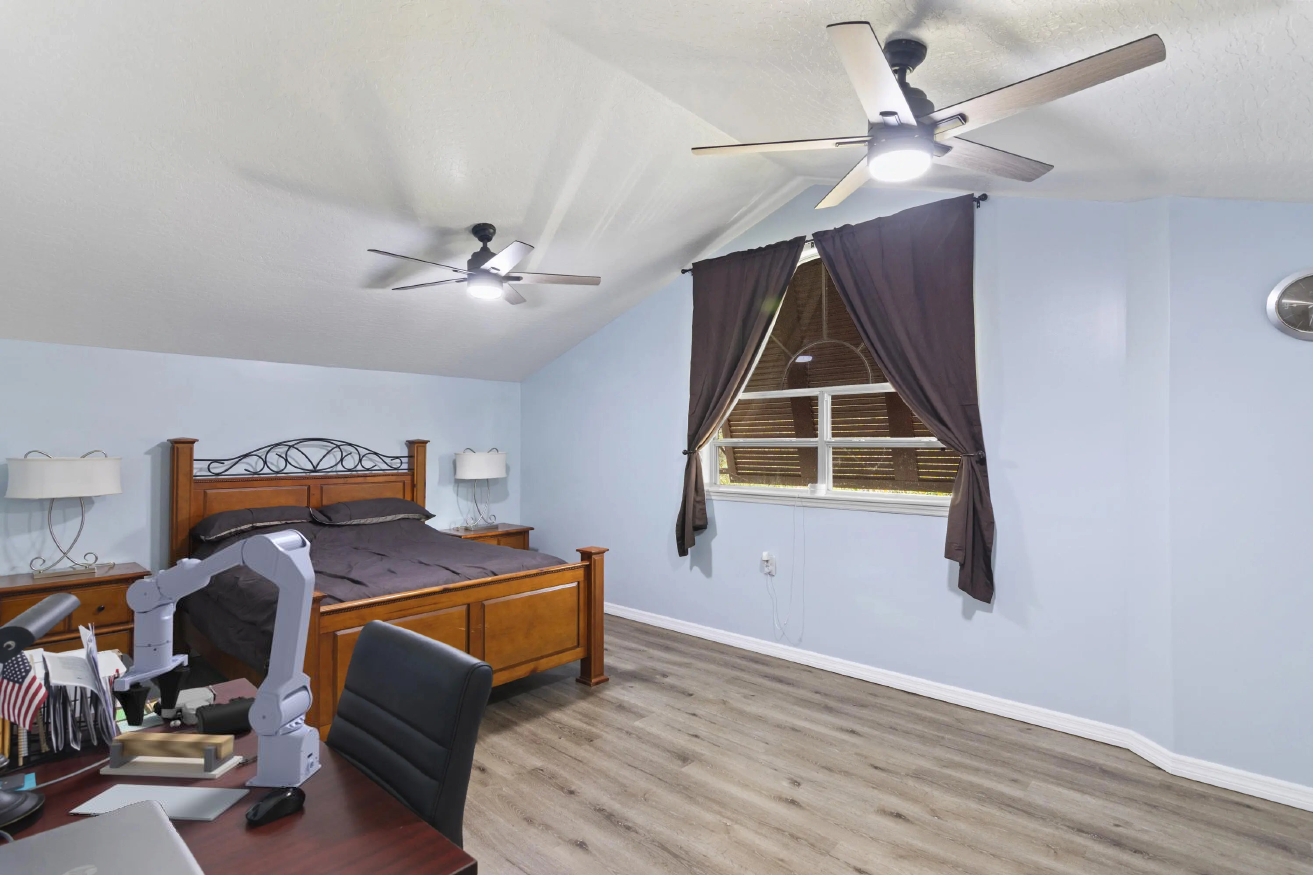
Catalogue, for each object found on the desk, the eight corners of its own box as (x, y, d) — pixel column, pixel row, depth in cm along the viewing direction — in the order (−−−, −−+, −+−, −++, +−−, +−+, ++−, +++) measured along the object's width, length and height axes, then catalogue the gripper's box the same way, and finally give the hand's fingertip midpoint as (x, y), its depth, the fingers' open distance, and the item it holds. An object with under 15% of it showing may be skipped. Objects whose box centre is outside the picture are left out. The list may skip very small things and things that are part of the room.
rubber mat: (249, 791, 116) (249, 789, 116) (211, 820, 107) (211, 817, 107) (117, 786, 117) (117, 783, 117) (69, 814, 108) (69, 811, 108)
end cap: (202, 748, 132) (203, 714, 132) (192, 738, 137) (192, 704, 137) (258, 732, 140) (259, 700, 140) (246, 723, 144) (247, 691, 144)
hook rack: (242, 760, 127) (243, 733, 127) (216, 778, 120) (216, 750, 120) (132, 756, 128) (133, 729, 129) (99, 773, 121) (100, 745, 122)
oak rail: (232, 751, 125) (233, 735, 125) (221, 759, 122) (221, 742, 122) (126, 747, 126) (126, 731, 127) (112, 754, 123) (112, 738, 124)
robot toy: (234, 721, 147) (208, 700, 157) (235, 701, 147) (209, 681, 156) (168, 740, 138) (145, 716, 147) (169, 718, 138) (146, 696, 147)
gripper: (163, 631, 131) (162, 701, 131) (98, 653, 117) (96, 732, 117) (198, 632, 131) (197, 702, 131) (136, 654, 116) (135, 733, 116)
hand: (152, 716), depth 124 cm, fingers open, 7 cm apart
